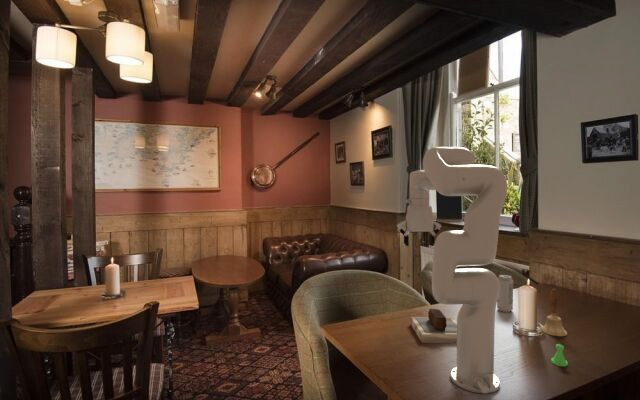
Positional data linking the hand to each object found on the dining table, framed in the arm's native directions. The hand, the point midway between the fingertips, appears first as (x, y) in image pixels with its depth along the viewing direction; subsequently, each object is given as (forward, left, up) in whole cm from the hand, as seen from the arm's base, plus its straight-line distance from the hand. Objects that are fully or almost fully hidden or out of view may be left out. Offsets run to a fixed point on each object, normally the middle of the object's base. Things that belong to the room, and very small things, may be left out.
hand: (418, 245), depth 143 cm
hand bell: (-11, -47, -31) cm, 57 cm away
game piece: (-34, -34, -31) cm, 57 cm away
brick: (-12, -3, -27) cm, 30 cm away
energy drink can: (+11, -40, -31) cm, 51 cm away
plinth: (-12, -4, -30) cm, 33 cm away
